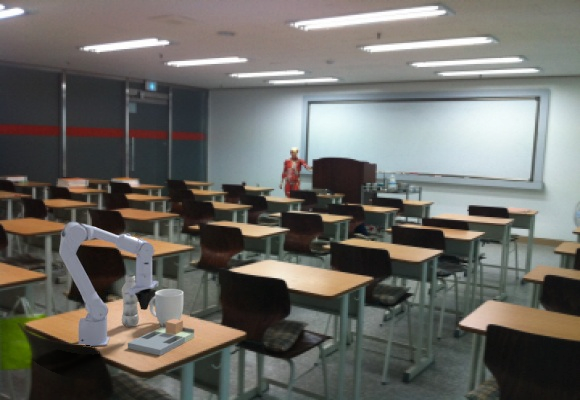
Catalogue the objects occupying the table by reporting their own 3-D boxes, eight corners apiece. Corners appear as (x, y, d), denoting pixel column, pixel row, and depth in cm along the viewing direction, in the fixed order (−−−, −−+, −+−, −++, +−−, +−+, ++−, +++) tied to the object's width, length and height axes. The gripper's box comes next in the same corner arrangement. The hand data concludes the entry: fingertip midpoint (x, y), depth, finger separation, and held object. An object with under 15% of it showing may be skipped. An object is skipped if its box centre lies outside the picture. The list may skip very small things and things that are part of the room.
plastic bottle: (141, 323, 214) (141, 274, 212) (134, 329, 207) (135, 278, 205) (125, 322, 214) (125, 273, 212) (118, 328, 208) (118, 277, 206)
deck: (160, 355, 182) (160, 346, 181) (127, 348, 187) (127, 339, 187) (194, 337, 200) (194, 329, 200) (163, 331, 205) (163, 323, 205)
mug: (141, 324, 213) (141, 292, 211) (158, 317, 223) (159, 286, 221) (172, 330, 207) (172, 297, 205) (188, 322, 217) (189, 291, 215)
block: (175, 334, 197) (175, 323, 196) (165, 332, 199) (165, 321, 198) (182, 330, 201) (182, 320, 200) (172, 328, 203) (173, 318, 202)
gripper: (139, 278, 191) (139, 315, 192) (165, 270, 204) (164, 305, 205) (124, 276, 193) (124, 313, 195) (150, 268, 207) (149, 303, 208)
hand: (144, 309), depth 200 cm, fingers closed
